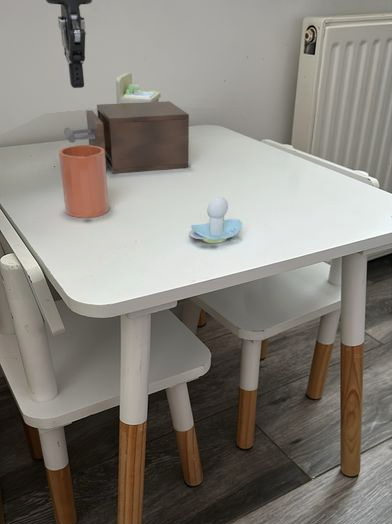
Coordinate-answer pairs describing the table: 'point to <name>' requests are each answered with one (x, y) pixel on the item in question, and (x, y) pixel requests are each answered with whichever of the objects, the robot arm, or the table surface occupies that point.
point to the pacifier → (216, 224)
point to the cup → (84, 180)
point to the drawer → (93, 133)
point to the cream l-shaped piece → (133, 91)
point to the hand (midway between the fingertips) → (77, 87)
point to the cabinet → (146, 136)
